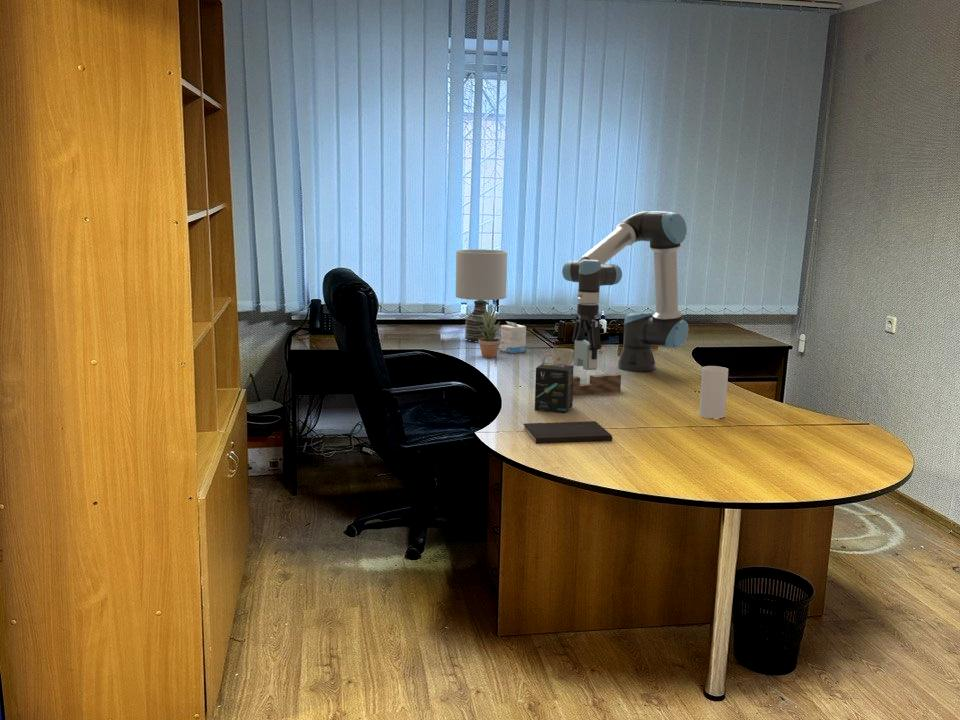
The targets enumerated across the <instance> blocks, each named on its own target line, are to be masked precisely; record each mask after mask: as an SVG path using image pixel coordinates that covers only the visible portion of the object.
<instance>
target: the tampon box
mask: <svg viewBox="0 0 960 720" xmlns="http://www.w3.org/2000/svg"><path fill="white" fill-rule="evenodd" d="M574 366H575V365H574V364H573V365H561V364H553V363H546V362H545V363H543V364H542V363H541V364H540V365H538V366H537V367H536V368H535V389H534V390H535V391H534V411H539V412H547V413H549V412H550V413H551V412H552V413H558V414H559V413H560V414H566V413H567V412H568V411H570V409H571V408H572V407H573V405H574V404H573V399H574V398H573V397H574V395H573V376H574Z"/></svg>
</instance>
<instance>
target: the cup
mask: <svg viewBox="0 0 960 720" xmlns="http://www.w3.org/2000/svg"><path fill="white" fill-rule="evenodd" d="M728 378H729V368H727V367H723V366H719V365H718V366H717V365H707V366H706V365H705V366H702V369H701V381H700V382H701V384H700V396H699V397H700V398H699V413H698V416H699V415H700V416H702V417H701V418H703V417H706V418H705V419H707V418H723V417H726V407H727V394H728V380H729V379H728ZM700 416H699V417H700ZM723 419H724V418H723Z"/></svg>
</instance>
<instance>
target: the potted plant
mask: <svg viewBox="0 0 960 720" xmlns="http://www.w3.org/2000/svg"><path fill="white" fill-rule="evenodd" d="M489 301H490V300H487V312H488V317H487V314H486V311H485V315H486V319H485V317H484V316H483V317H484V319H483V322H484V326H485V328H486V329H484V328H483V329H484V331H485V332H483V331H482V330H481V329H480V328H479V327H478V328H479V329H480V330H481V331H482V332H483V333H482V332H481V333H482V335H483V336H484V337H485V338H484V337H483V338H482V339H479V340H478V342H477V343H478V344H479V348H480V352H481V353H480V354H481V356H482V357H483V356H484V357H483V358H495V356H497V354H498V351H499V346H500V345H501V339H500V338H496V337H497V336H498V334H499V331H498V330H499V329H500V328H501V325H499V324H500V323H501V321H498V323H496V321H497V319H498V316H499V313H496V309H497V304H498V303H497V302H496V303H495V305H494V308H493V311H492V312H490V302H489ZM495 313H496V316H495ZM490 315H491V316H492V317H491V316H490ZM495 323H496V324H495ZM494 324H495V326H494ZM493 326H494V327H493Z"/></svg>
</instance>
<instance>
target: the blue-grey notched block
mask: <svg viewBox="0 0 960 720" xmlns="http://www.w3.org/2000/svg"><path fill="white" fill-rule="evenodd" d="M573 347H574V348H573V349H574V353H573V366H575V367H582V369H583V370H585V371H593V370H594V371H595V370H597V369H598V366H597V365H598V361H597V362H596V368H588V367H589V349H590V343H589V340H586V339H583V340H575V344H574V346H573ZM598 351H599V349H598V350H597V352H598Z"/></svg>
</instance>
